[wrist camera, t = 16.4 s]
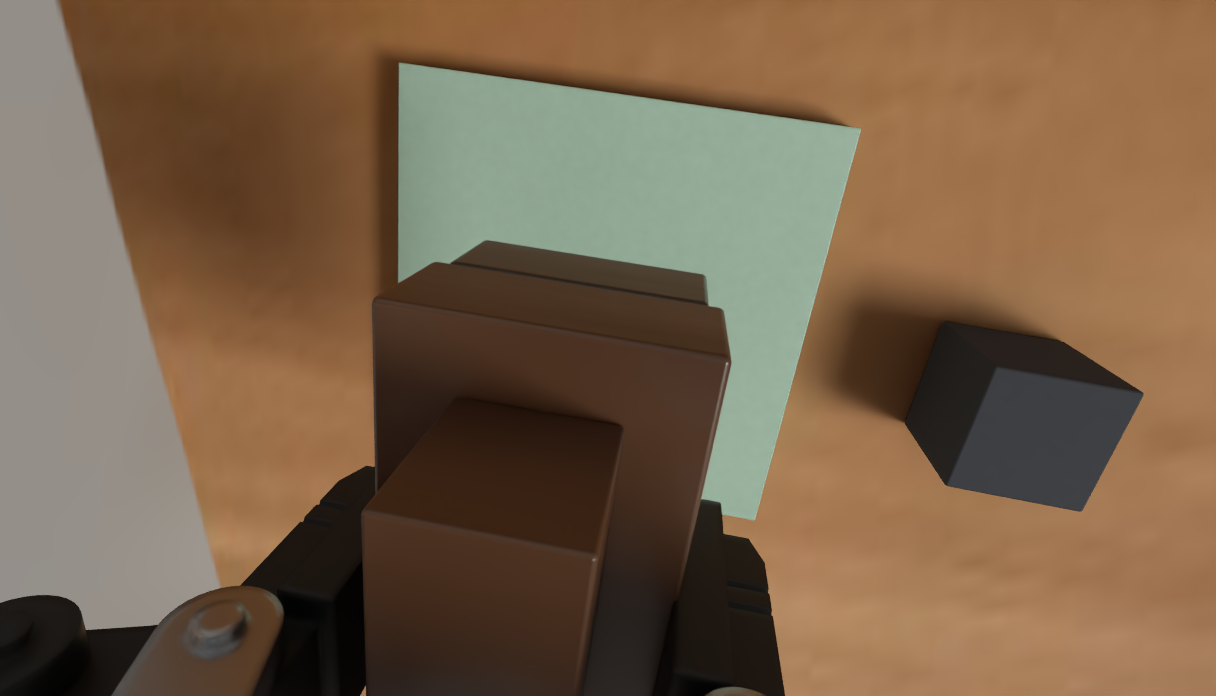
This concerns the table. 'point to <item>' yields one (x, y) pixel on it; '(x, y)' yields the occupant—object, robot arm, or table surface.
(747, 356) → the tray
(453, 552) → the brown stepped block
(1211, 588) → the table surface
